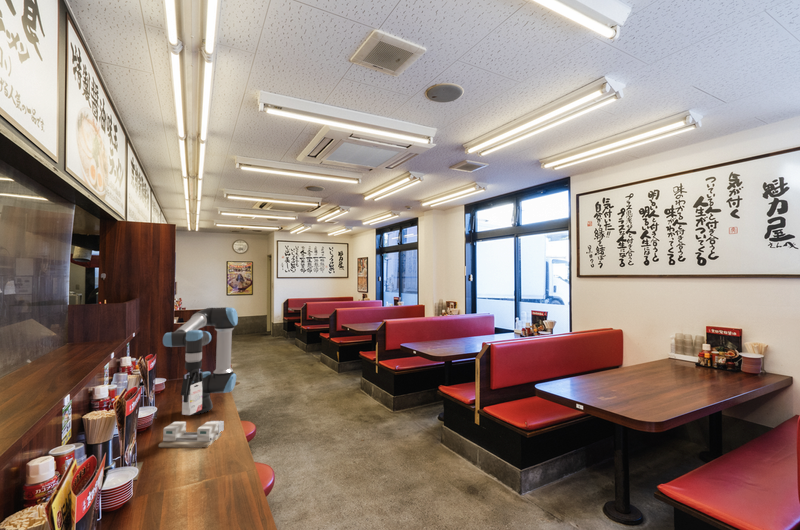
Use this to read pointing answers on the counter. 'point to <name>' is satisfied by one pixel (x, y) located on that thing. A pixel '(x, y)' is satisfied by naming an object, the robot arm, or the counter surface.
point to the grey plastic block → (220, 425)
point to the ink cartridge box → (194, 399)
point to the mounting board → (189, 435)
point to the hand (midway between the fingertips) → (192, 405)
